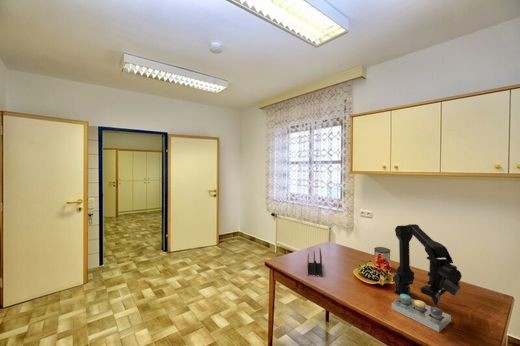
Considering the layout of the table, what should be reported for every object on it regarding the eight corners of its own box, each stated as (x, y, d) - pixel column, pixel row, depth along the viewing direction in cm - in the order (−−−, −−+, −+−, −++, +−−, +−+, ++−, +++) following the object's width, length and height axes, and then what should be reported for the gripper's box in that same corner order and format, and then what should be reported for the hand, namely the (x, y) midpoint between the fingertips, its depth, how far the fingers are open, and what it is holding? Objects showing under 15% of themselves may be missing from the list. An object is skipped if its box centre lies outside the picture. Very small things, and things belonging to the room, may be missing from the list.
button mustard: (412, 310, 119) (412, 301, 119) (417, 307, 122) (417, 299, 122) (422, 314, 116) (422, 306, 115) (427, 311, 118) (427, 303, 118)
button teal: (398, 303, 125) (398, 295, 125) (402, 300, 128) (402, 292, 128) (407, 307, 121) (407, 299, 121) (412, 304, 124) (412, 296, 124)
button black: (428, 317, 113) (428, 308, 113) (432, 314, 116) (432, 305, 116) (439, 322, 110) (439, 313, 109) (444, 319, 112) (444, 310, 112)
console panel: (391, 308, 124) (391, 302, 124) (404, 300, 131) (404, 295, 131) (438, 332, 106) (438, 325, 106) (450, 321, 113) (450, 315, 113)
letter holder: (320, 264, 180) (320, 246, 179) (322, 276, 160) (322, 256, 160) (307, 263, 182) (307, 245, 181) (307, 275, 162) (307, 255, 162)
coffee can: (371, 265, 177) (371, 247, 176) (385, 265, 177) (385, 246, 176) (378, 272, 166) (379, 252, 166) (393, 271, 167) (393, 251, 166)
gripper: (449, 284, 100) (448, 321, 101) (466, 273, 110) (465, 306, 111) (420, 274, 110) (419, 307, 110) (437, 265, 120) (437, 295, 120)
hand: (436, 304), depth 113 cm, fingers closed
